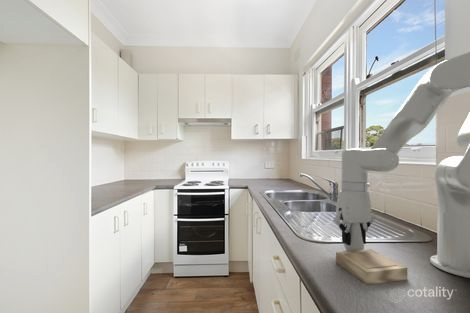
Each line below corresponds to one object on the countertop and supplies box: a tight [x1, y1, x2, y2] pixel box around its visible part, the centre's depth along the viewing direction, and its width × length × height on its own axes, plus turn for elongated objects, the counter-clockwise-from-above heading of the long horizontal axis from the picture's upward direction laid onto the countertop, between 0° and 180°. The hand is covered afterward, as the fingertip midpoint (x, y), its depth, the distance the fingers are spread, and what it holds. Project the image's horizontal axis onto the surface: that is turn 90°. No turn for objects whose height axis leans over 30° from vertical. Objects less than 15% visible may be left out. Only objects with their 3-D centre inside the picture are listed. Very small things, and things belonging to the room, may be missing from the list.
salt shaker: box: [343, 223, 365, 252], centre depth 76 cm, size 6×6×13 cm
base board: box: [335, 248, 408, 286], centre depth 64 cm, size 12×12×3 cm
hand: (353, 242), depth 76 cm, fingers open, 4 cm apart
